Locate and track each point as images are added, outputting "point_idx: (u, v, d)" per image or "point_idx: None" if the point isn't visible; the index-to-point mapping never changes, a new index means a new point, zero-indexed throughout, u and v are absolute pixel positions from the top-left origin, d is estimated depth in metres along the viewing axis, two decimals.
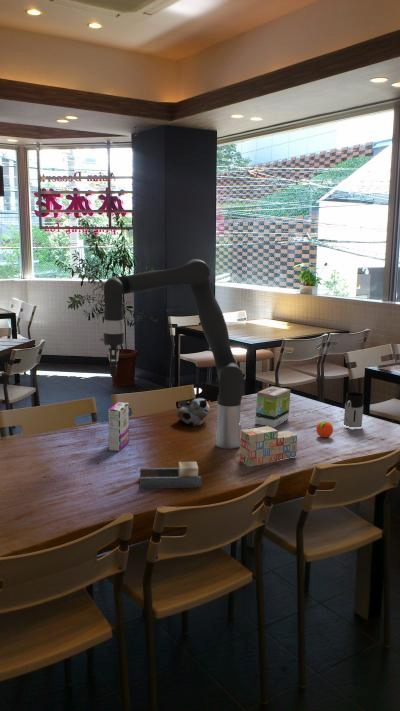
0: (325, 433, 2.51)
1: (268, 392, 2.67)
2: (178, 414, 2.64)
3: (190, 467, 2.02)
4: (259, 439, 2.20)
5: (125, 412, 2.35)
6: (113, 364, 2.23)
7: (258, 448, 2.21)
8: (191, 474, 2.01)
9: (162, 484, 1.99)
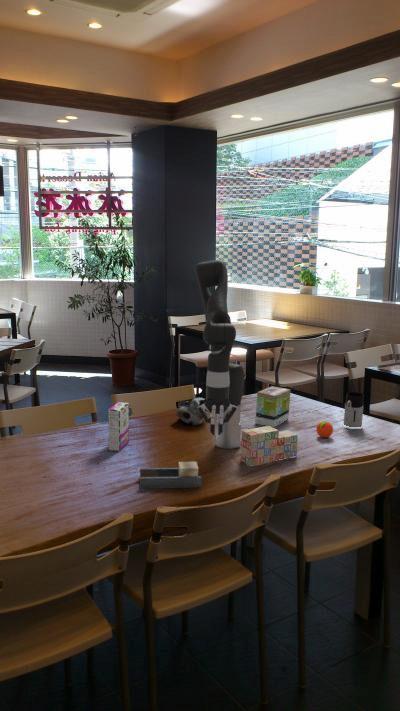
0: (325, 433, 2.51)
1: (268, 392, 2.67)
2: (178, 414, 2.64)
3: (190, 467, 2.02)
4: (260, 439, 2.20)
5: (125, 412, 2.35)
6: None
7: (259, 448, 2.21)
8: (191, 474, 2.01)
9: (162, 484, 1.99)
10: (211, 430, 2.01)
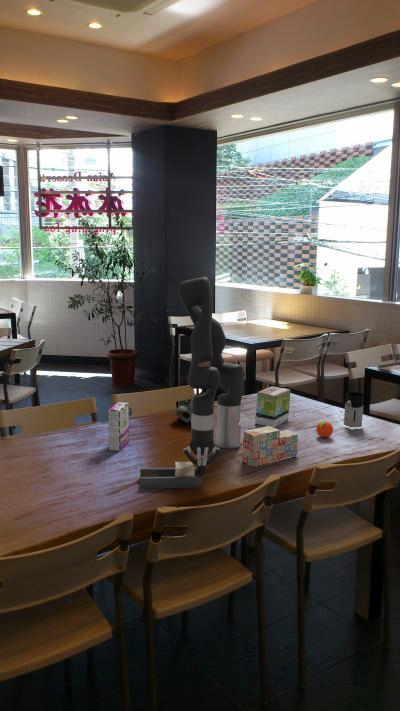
0: (325, 433, 2.51)
1: (268, 392, 2.67)
2: (177, 413, 2.65)
3: (187, 467, 2.02)
4: (262, 440, 2.20)
5: (125, 412, 2.35)
6: None
7: (262, 448, 2.21)
8: (187, 474, 2.01)
9: (162, 484, 1.99)
10: (198, 471, 2.04)
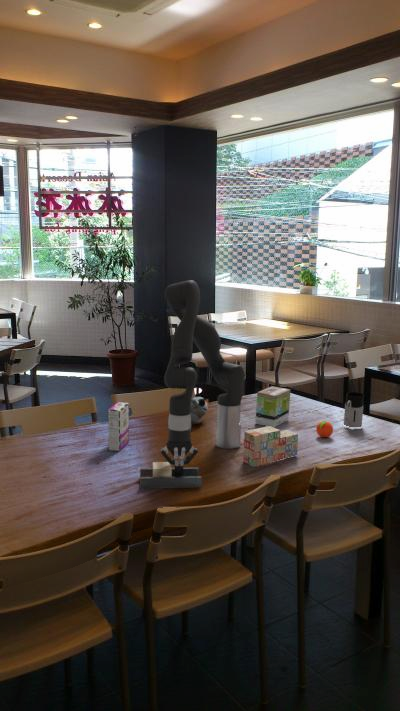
0: (325, 433, 2.51)
1: (268, 392, 2.67)
2: None
3: (164, 467, 2.01)
4: (263, 440, 2.20)
5: (125, 412, 2.35)
6: None
7: (263, 448, 2.21)
8: (164, 474, 2.00)
9: (162, 484, 1.99)
10: (175, 472, 2.03)
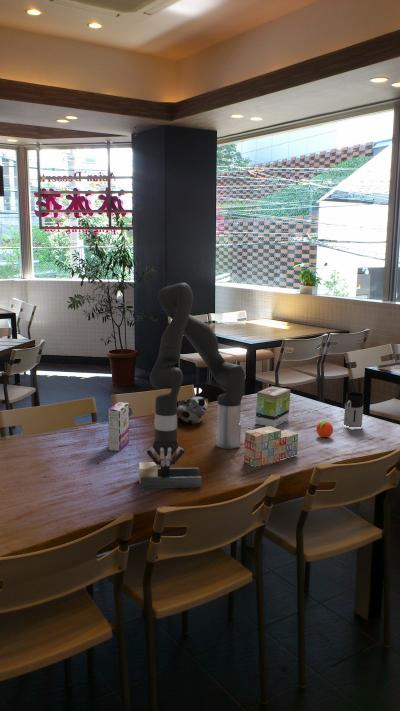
0: (325, 433, 2.51)
1: (268, 392, 2.67)
2: (177, 413, 2.66)
3: (150, 467, 2.00)
4: (264, 440, 2.20)
5: (125, 412, 2.35)
6: None
7: (264, 449, 2.21)
8: (151, 475, 2.00)
9: (162, 484, 1.99)
10: (162, 472, 2.02)
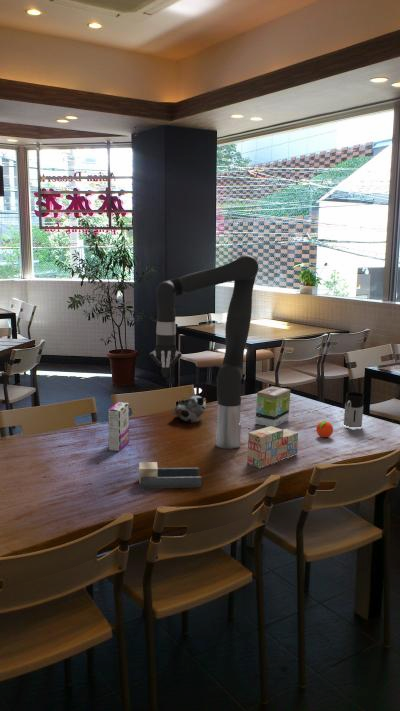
0: (325, 433, 2.51)
1: (268, 392, 2.67)
2: (176, 412, 2.67)
3: (150, 467, 2.00)
4: (268, 440, 2.20)
5: (125, 412, 2.35)
6: (173, 363, 2.38)
7: (268, 449, 2.20)
8: (150, 475, 2.00)
9: (162, 484, 1.99)
10: (162, 372, 2.38)
